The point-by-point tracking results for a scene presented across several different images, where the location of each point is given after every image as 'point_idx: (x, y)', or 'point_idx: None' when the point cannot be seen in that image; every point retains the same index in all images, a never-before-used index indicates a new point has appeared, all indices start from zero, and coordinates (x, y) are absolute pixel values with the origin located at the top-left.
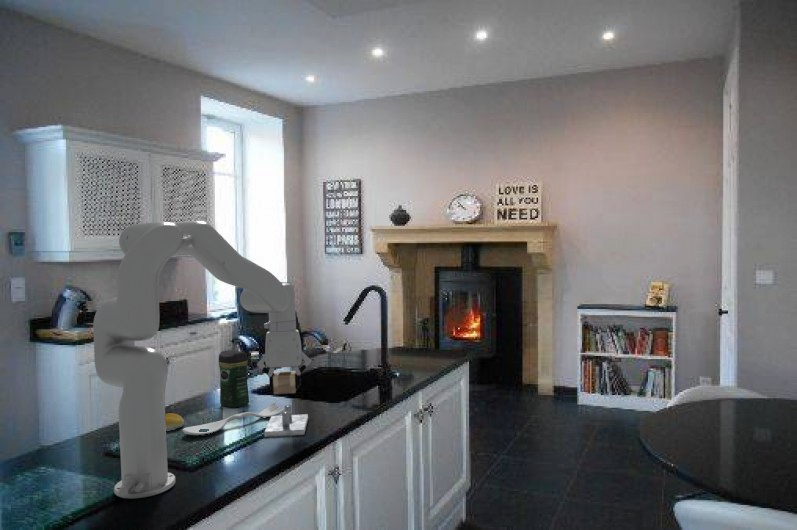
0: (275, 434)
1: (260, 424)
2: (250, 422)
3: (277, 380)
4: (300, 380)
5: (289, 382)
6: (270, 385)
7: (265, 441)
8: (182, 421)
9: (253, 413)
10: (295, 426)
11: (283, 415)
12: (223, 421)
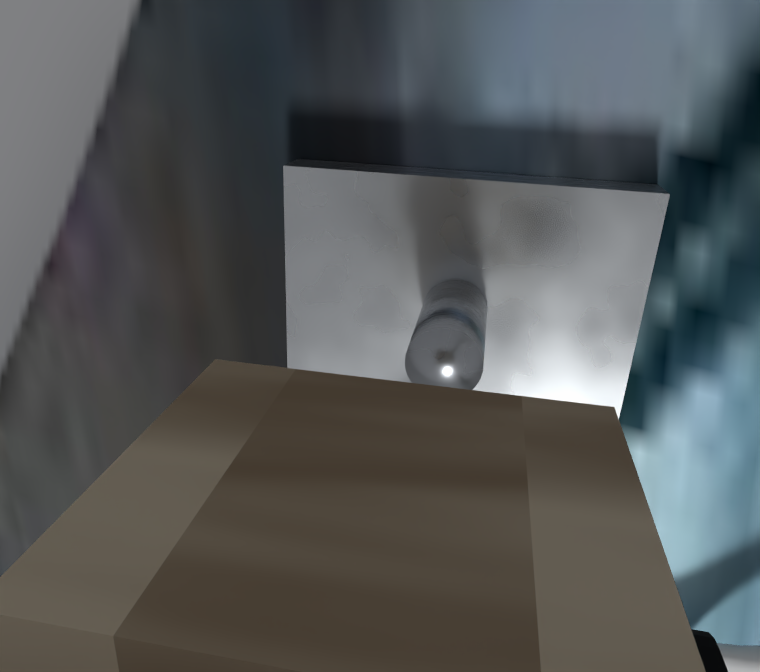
0: (555, 181)
1: (669, 524)
2: (748, 593)
3: (545, 598)
4: None
5: (227, 492)
6: (700, 645)
7: (660, 41)
8: None
9: (740, 662)
10: (368, 277)
11: (467, 326)
12: None
